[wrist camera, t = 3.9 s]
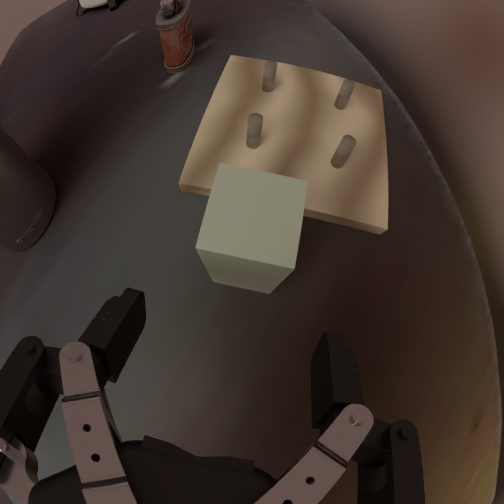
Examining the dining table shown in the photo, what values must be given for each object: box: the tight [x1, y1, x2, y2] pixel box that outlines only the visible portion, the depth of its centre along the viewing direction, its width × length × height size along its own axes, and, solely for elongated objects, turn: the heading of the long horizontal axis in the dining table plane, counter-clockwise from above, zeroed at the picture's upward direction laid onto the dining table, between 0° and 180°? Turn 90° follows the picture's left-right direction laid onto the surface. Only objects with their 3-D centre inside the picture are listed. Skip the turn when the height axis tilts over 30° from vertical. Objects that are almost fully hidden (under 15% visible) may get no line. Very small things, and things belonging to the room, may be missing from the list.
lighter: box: [156, 0, 195, 73], centre depth 24 cm, size 8×3×10 cm, turn 179°
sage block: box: [195, 163, 308, 294], centre depth 18 cm, size 4×4×10 cm
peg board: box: [178, 55, 388, 235], centre depth 24 cm, size 18×18×5 cm
